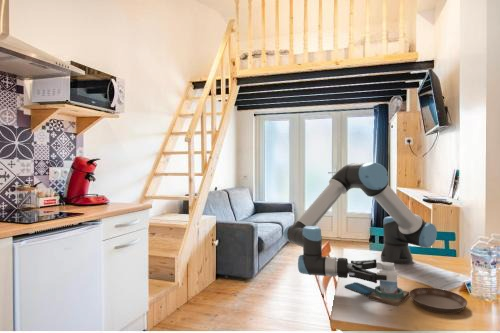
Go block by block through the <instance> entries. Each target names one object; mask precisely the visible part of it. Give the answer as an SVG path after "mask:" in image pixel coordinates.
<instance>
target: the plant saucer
mask: <svg viewBox="0 0 500 333" xmlns="http://www.w3.org/2000/svg"><path fill="white" fill-rule="evenodd" d="M409 297H410V298H411V299H412V301H413V303H415V304H416V305H417V306H418V307H419V308H422V309H423V310H427V311H430V312H433V313H438V314H447V315H449V314H459V313H460V312H462V311H463V310H465V308H466V307H467V305H468V301H467V299H466V298H465V297H464V296H463V295H461V294H459V293H456V292H454V291H450V290H447V289H443V288H437V287H436V288H435V287H416V288H413V289H411V290H410V291H409Z"/></svg>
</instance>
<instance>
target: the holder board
mask: <svg viewBox="0 0 500 333" xmlns="http://www.w3.org/2000/svg"><path fill="white" fill-rule="evenodd" d="M374 289H375V291H374V292H372V293H371V294H370V295H368V297H367V298H368V299H369V300H373V301H376V302H379V303H380V302H381V303H384V304H387V305H391V306H395V307H399V306H400V304H402V302H404V301H405V300H406V298H408V297H410V295H409V293H410V291H407V290H403V289H402V288H400V287H398V286H397V294H388V293H384V292H381V291H380V284H379V285H376V286H375V287H374Z"/></svg>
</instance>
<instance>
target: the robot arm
mask: <svg viewBox="0 0 500 333" xmlns="http://www.w3.org/2000/svg"><path fill="white" fill-rule="evenodd" d="M388 174H389V173H388V170H387V168H386V167H385V166H384V165H382V164H380V163H378V162H372V161H368V162H353V163H349V164H346V165H345V166H343V167H342V168H340V169H339V170H338V171H337V172H336V173H335V174H334V175H333V176H332V177H331V178H330V180H329V181H328V182H329V183H328V185H327V186H326V187H325V188H324V190H323V191H322V192H321V193H320V194H319V195H318V197H317V198H316V199H315V200H314V201H313V203H312V204H310V206H309V207H308V208H307V209H306V210H305V211H304V213H303V214H302V215H301V216H300V217H299V218H298V220H297V221H296V222H295V223H294V224H293V225H292V224H291V225H288V226H287V227H285V229H284V232H283V235H284V239H286V241H288V242H289V243H290V244H293V245H296V246H300V247H301V248H302V252H303V254H300V255H299V256H298V259H297V270H298V271H299V273H300V274H302V275H303V274H304V275H309V276H322V277H328V278H332V277H335V278H336V277H338V278H342V279H343V278H344V279H348V277H349V278H352V279H353V278H354V279H357V280H358V279H359V280H362V281H367V282H370V283H374V284H377V283H378V281H379V282H380V281H389V282H397V283H398V274H392V273H380V272H378V271H377V272H374V271H371V270H373V269H376V270H380V269H382V267H381V263H382V262H390V263H393V264H394V265H410V264H413V262H414V260H413V255H412V253H411V249H410V246H409V244H410V245H413V246H417V247H420V248H430V247H432V246H433V245H434V244H435V242H436V239H437V234H438V231H437V227H436V226H435V224H433V223H432V222H427V221H425V220H424V218H423V217H422V216H420V215H419V214H415V213H413V211H412V210H411V209H410V208H409V207H408V206H407V205H406V204H405V202H404V201H403V200H402V199H401V198H400V197H399V195H398V194H397V193H396V192H395V191H394V189H392V188H391V187H390V185H389V184H390V181H389V176H388ZM351 189H361V190H362V192H363V193H364V194H365V195H366V196H367V197H370V198H371V197H372V198H373V199H374V200H375V201H376V203H378V204H379V205H380V206H381V208H382V209H383V210H384V211H385V212H386V213H387V214H388V215H389V216H386V217H384V218H383V224H382V225H383V226H382V227H383V228H382V230H383V246H382V250H381V252H380V260H381V261H377V259H376V258H375V259H365V260H350V263H349V262H348V261H349V260H348V258H346V257H335V256H323V252H322V248H323V247H322V243H323V242H322V241H323V240H322V239H323V236H322V230H321V227H320V226H317V224H318V223H319V222H320V221H321V219H322V218H324V216H326V214H327V213H328V212H329V210H331V208H332V207H333V205H334V204H335V203H336V202H337V201H338V199H340V197H341V196H342V195H345V194H347V192H349V190H351Z"/></svg>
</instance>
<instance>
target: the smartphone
mask: <svg viewBox="0 0 500 333" xmlns="http://www.w3.org/2000/svg"><path fill="white" fill-rule="evenodd" d="M344 288H345V289H348V290H350V291H352V292H355V293H358V294H360V295H362V296H365V297H367V298H368V295H370V294H371V293H372V292H374V291H375V288H372V287H370V286H367V285H364V284H362V283H359V282H351V283H348V284H345V285H344Z"/></svg>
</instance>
